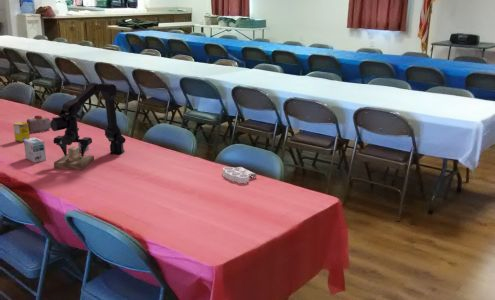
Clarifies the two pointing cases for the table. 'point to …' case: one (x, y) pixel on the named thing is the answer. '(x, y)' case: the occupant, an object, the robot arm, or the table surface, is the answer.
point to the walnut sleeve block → (74, 162)
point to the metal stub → (80, 147)
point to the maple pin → (74, 154)
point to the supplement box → (21, 131)
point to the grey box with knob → (38, 124)
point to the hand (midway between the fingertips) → (74, 156)
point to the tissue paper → (237, 174)
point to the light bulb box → (34, 149)
